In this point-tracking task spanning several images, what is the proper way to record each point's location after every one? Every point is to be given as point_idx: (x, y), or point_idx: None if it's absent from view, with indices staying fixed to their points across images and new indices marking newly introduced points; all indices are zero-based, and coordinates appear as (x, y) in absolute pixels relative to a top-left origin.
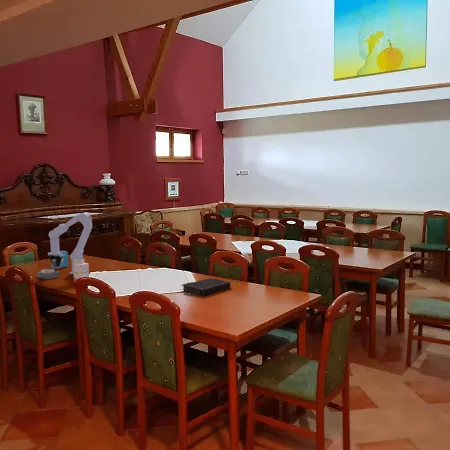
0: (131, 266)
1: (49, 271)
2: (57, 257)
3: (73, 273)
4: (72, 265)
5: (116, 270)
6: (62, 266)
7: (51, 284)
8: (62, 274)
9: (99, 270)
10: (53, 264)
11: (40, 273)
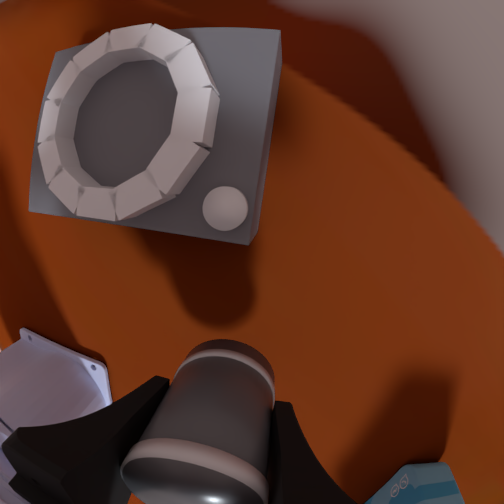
0: None
1: (56, 89)
2: (6, 442)
3: (56, 346)
4: (22, 394)
5: None
6: (372, 502)
7: (8, 25)
8: (129, 316)
9: None
10: (213, 388)
11: (193, 33)
